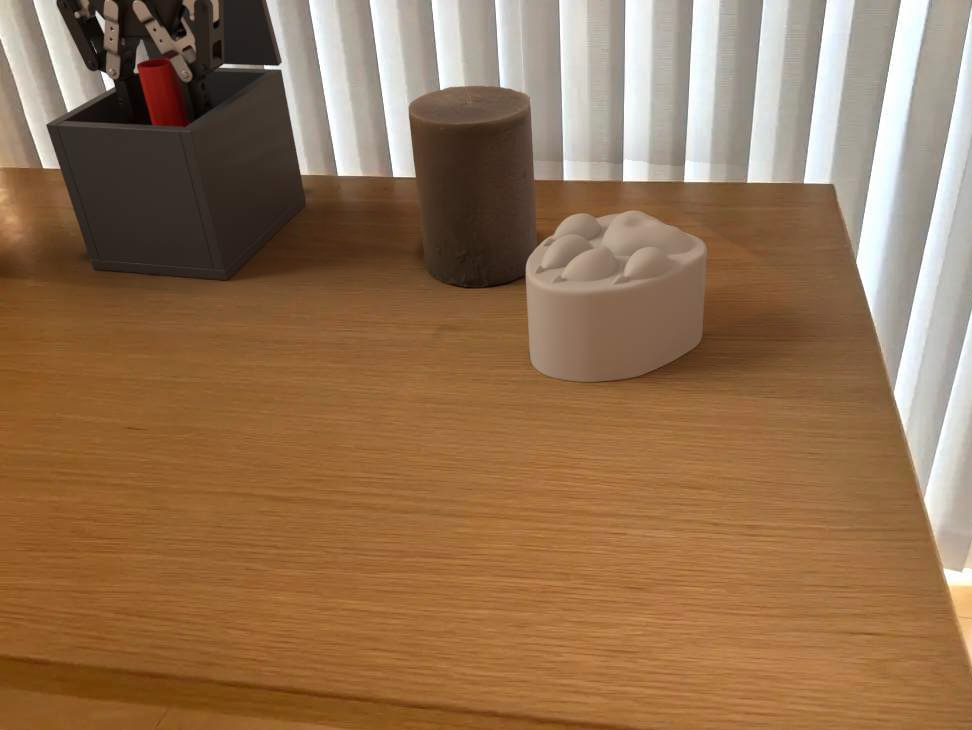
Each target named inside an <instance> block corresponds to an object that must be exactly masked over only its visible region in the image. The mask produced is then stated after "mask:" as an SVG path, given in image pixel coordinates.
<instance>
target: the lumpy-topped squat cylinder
mask: <svg viewBox="0 0 972 730" xmlns="http://www.w3.org/2000/svg"><path fill="white" fill-rule="evenodd" d="M537 246H538V247H537V248H536V249H535V250H534V251H533V253H532V254H531V255H530V256H529V258H528V261H527V264H526V275H525V289H526V290H525V291H526V309H527V325H528V326H527V327H528V342H529V343H528V345H529V360H530V363H531V365H532V366H533V368H534V369H535V370H536V371H537V372H539V373H541V374H543V375H544V376H547V377H549V378H554V379H557V380H560V381H561V380H563V381H569V382H576V383H577V382H578V383H599V382H610V381H619V380H620V381H621V380H627V379H632V378H636V377H640V376H642V375H645V374H649V373H650V372H652V371H654V370H657V369H659V368H661V367H664V366H666V365H668V364H670V363H672V362H673V361H676V360H677V359H679V358H680V357H682V356H684V355H686V354H687V353H689V352H690V351H692V350H693V349H695V348H696V347H697V346H698V345H699V344H700V343H701V341H702V339H703V330H704V328H703V327H704V312H705V296H706V294H705V293H706V280H707V279H706V278H707V260H708V259H707V258H708V249H707V245H706V243H705V242H704V241H703V240H702V239H700V237H697V236H696V235H693V234H691V233H687V232H684V231H683V230H681V229H680V228H679V227H677V226H674V225H669V224H666V223H664V222H662V221H661V220H659V219H657V218H656V217H654V216H651V215H649V214H647V213H645V212H643V211H640V210H627V211H625V212H622V213H621V212H620V213H614V214H613V213H612V214H607V215H603V216H600V217H594V216H593V215H591V214H589V213H586V212H585V213H583V212H582V213H581V212H580V213H575V214H572V215H570V216H568V217H566V218H564V219H563V220H562V221H561V223H560V224H559V225H558V226H557V228H556V230H555V232H554V234H552V235H550V236H548V237H547V238H545V239H544V240H543V241H542V242H540V244H538V245H537Z"/></svg>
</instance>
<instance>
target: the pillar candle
mask: <svg viewBox="0 0 972 730" xmlns="http://www.w3.org/2000/svg"><path fill="white" fill-rule="evenodd" d="M408 119H409V129H410V136H411V137H410V138H411V139H410V140H411V148H412V159H413V165H414V175H415V183H416V184H415V186H416V192H417V193H416V194H417V203H418V208H419V209H418V210H419V220H420V230H421V237H422V245H423V246H422V247H423V254H424V255H423V257H424V264H425V265H426V270H427V271H428V273H429V274H430V275H431V276H432V277H433V278H435V279H436V280H438V281H440V282H442V283H443V282H444V283H446V284H451V285H455V286H460V287H465V288H483V287H489V286H490V287H492V286H497V285H502V284H506V283H509V282H512V281H515V280H517V279H521V278H523V277H524V276H526V264H527V261H528V258H529V256H530V255H531V254H532V253H533V251H534V250H535V249H536V248H537V247H538V246H539V245H538V230H537V209H536V208H537V206H536V205H537V204H536V186H535V170H534V169H535V167H534V148H533V147H534V145H533V129H532V128H533V127H532V107H531V97H530V96H528V94H527V93H525V92H522V91H518V90H514V89H513V88H508V87H507V88H506V87H503V86H493V85H488V86H486V85H467V86H466V85H465V86H462V85H461V86H449V87H445V88H443V89H437V90H435V91H432V92H429V93H426V94H425V93H424V94H423V95H421V96H419V97H417V98H415V99H413V100H412V101H411V102H410V104H409V105H408Z"/></svg>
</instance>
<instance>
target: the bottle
mask: <svg viewBox="0 0 972 730" xmlns="http://www.w3.org/2000/svg"><path fill="white" fill-rule="evenodd" d="M136 68H137V73H139V76H140V80H141V84H142V88H143V91H144V95H145V99H146V103H147V106H148V110H149V114H150V118H151V121H152V125H156V126H177V127H186V126H188V125H189V124H190V123H189V121H188V117H187V113H186V109H185V104H184V100H183V96H182V92H181V88H180V84H179V80H178V76H177V72H176V70H175V69H174V67H173V65H172V63H171V62H170V60H169V59H168V58H157V59H150V60H149V59H147V60H142V61H140V62H139V63H137V66H136Z"/></svg>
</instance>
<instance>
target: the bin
mask: <svg viewBox="0 0 972 730" xmlns="http://www.w3.org/2000/svg"><path fill="white" fill-rule="evenodd" d="M177 76H178V80H179V84H180V82H182V80H181V79H180V77H179V75H178V74H177ZM206 81H207V85H208V90H209V94H210V98H211V103H212V107H213V109H212V110H210V111H209V112H207V113H206V114H204V115H203V116H201V117H200V118H198V119H197V120H195V121H194V122H192V123H191V124H189V125H188V126H186V127H177V126H156V125H152V121H151V118H150V114H149V117H148V118H147V119H145V120H144V121H142V122H140V123H131V122H129V120H128V117H127V116H125V115H124V113H123V111H122V110H121V106H120V102H119V98H118V96H117V92H116V89H115V86H113V87H111V88H110V89H107V90H106V91H104V92H102V93H100V94H99V95H97V96H95V97H93V98H92V99H90V100H88V101H86V102H84V103H82V104H81V105H79V106H77V107H75V108H73V109H72V110H70V111H68V112H66V113H64V114H63V115H61V116H59V117H57V118H55V119H53V120H51V121H50V122H48V123H46V124H45V126H46V129H47V133H48V135H49V138H50V141H51V145H52V147H53V150H54V153H55V157H56V159H57V163H58V165H59V169H60V172H61V175H62V178H63V181H64V184H65V187H66V190H67V193H68V196H69V200H70V203H71V205H72V208H73V211H74V214H75V217H76V221H77V223H78V227H79V230H80V233H81V236H82V238H83V242H84V245H85V248H86V251H87V254H88V257H89V259H90V263H91V266H92V269H93V270H96V271H108V272H119V273H132V274H144V275H154V276H155V275H157V276H168V277H178V278H192V279H204V280H216V281H225V282H226V281H229V280H230V278H232V277H233V275H235V274H236V273H237V272H238V271H239V270H240V269H241V268H242V267H243V266H244V265H245V264H246V263H247V262H248V261H250V260H251V258H252V257H253V256H254V255H256V254H257V253H258V252H259V250H260V249H262V248H263V247H264V246H265V245H266V244H267V243H268V242H269V241H270V240H271V239H272V238H273V237H274V236H275V235H276V234H277V233H278V232H279V231H281V230H282V229H283V227H285V225H286V224H287V223H289V221H291V219H292V218H294V217H295V215H297V214H298V213H299V212H300V211H301V210H302V209H303V208H304V207H305V206H306V205H307V202H306V197H305V190H304V183H303V179H302V174H301V168H300V163H299V157H298V153H297V147H296V141H295V136H294V131H293V125H292V120H291V114H290V108H289V104H288V98H287V93H286V92H287V91H286V87H285V82H284V77H283V71H282V69H280V68H279V69H278V68H277V69H275V68H274V69H273V68H272V69H271V68H246V67H245V68H243V67H219V68H217V69H215V70H214V71H212V72H211V73H209V74H207V75H206ZM185 109H186V108H185ZM186 113H187V112H186ZM187 117H188V116H187ZM188 121H189V120H188Z"/></svg>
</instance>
